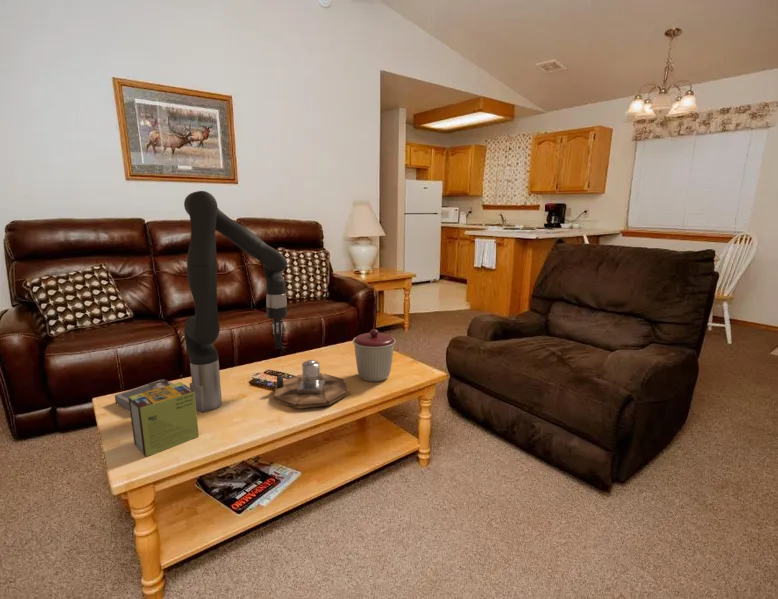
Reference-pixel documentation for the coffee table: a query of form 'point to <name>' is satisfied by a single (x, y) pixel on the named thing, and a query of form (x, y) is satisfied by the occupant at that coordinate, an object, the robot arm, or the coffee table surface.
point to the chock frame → (123, 397)
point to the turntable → (329, 394)
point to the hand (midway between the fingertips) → (278, 348)
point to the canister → (374, 355)
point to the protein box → (163, 418)
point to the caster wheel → (157, 385)
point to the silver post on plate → (311, 378)
